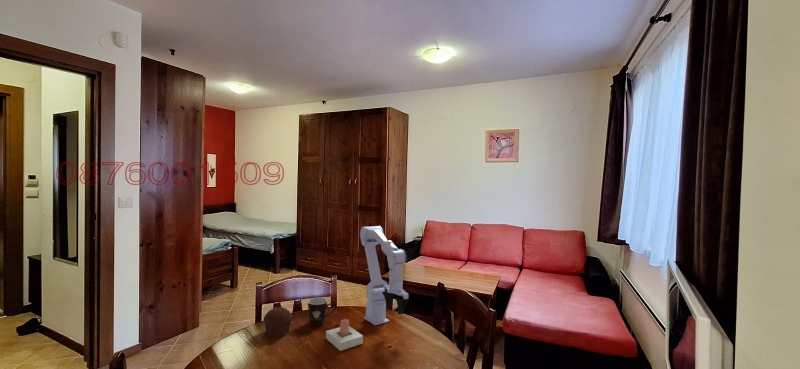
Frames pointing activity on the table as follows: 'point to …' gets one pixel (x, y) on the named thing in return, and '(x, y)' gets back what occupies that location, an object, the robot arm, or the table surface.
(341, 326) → the dowel
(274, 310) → the muffin
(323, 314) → the coffee mug
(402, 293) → the robot arm
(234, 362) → the table surface
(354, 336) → the socket block
